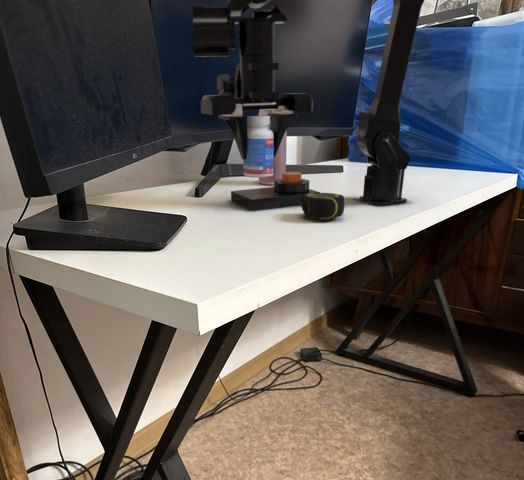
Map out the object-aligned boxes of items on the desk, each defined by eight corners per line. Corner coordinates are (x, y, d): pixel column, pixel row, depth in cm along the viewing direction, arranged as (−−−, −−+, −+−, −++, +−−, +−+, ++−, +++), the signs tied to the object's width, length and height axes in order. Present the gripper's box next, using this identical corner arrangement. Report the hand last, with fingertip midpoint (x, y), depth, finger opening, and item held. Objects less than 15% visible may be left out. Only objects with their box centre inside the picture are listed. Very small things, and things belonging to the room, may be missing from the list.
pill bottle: (271, 178, 89) (270, 117, 84) (240, 178, 90) (239, 117, 85) (275, 173, 94) (275, 115, 89) (247, 173, 94) (245, 115, 90)
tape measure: (340, 213, 87) (342, 190, 85) (345, 222, 81) (347, 198, 79) (300, 213, 87) (301, 190, 85) (302, 222, 81) (303, 198, 79)
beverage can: (257, 181, 115) (257, 107, 108) (283, 180, 116) (284, 107, 109) (260, 185, 110) (259, 109, 103) (287, 185, 111) (289, 108, 104)
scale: (295, 194, 102) (295, 176, 100) (319, 202, 95) (320, 183, 93) (231, 201, 96) (230, 182, 94) (252, 210, 89) (251, 190, 87)
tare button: (295, 180, 97) (295, 171, 97) (305, 183, 94) (305, 173, 94) (278, 182, 96) (278, 172, 95) (288, 185, 93) (288, 175, 92)
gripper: (283, 58, 93) (282, 150, 100) (186, 58, 86) (192, 156, 93) (316, 56, 84) (312, 156, 91) (210, 54, 77) (216, 164, 84)
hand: (258, 158), depth 90 cm, fingers closed on pill bottle, 5 cm apart
